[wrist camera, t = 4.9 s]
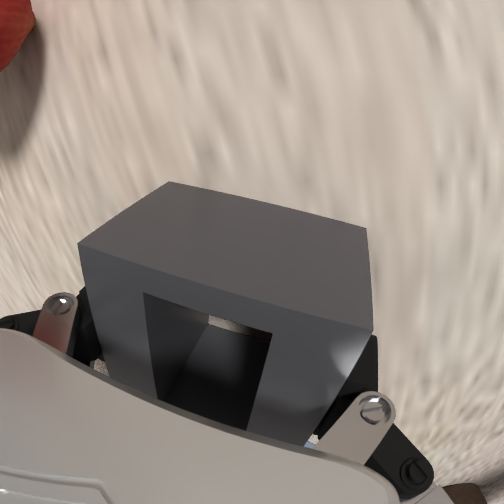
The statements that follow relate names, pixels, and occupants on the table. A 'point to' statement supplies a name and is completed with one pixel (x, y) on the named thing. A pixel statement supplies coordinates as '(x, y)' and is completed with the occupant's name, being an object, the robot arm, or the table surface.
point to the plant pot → (465, 494)
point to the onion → (14, 27)
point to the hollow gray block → (230, 306)
